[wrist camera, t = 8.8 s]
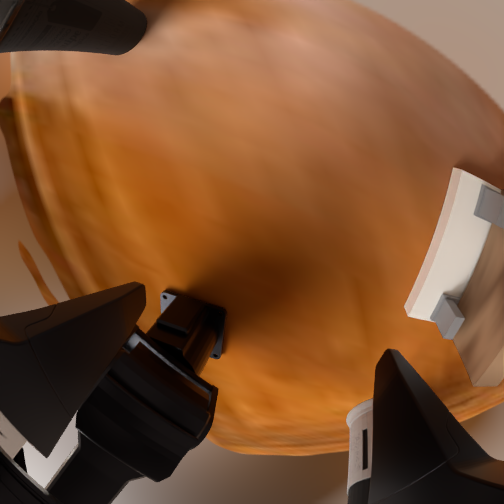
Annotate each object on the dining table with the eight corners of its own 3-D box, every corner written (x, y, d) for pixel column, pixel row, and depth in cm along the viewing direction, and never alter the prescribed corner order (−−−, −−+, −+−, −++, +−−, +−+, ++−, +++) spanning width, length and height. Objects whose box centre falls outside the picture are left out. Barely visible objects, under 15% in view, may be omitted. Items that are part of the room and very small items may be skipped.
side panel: (486, 323, 18) (503, 351, 15) (403, 306, 20) (416, 339, 16) (533, 211, 13) (561, 227, 9) (453, 167, 15) (483, 176, 11)
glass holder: (352, 436, 29) (346, 532, 15) (327, 378, 25) (313, 516, 11) (414, 421, 26) (423, 518, 12) (410, 355, 22) (436, 494, 8)
